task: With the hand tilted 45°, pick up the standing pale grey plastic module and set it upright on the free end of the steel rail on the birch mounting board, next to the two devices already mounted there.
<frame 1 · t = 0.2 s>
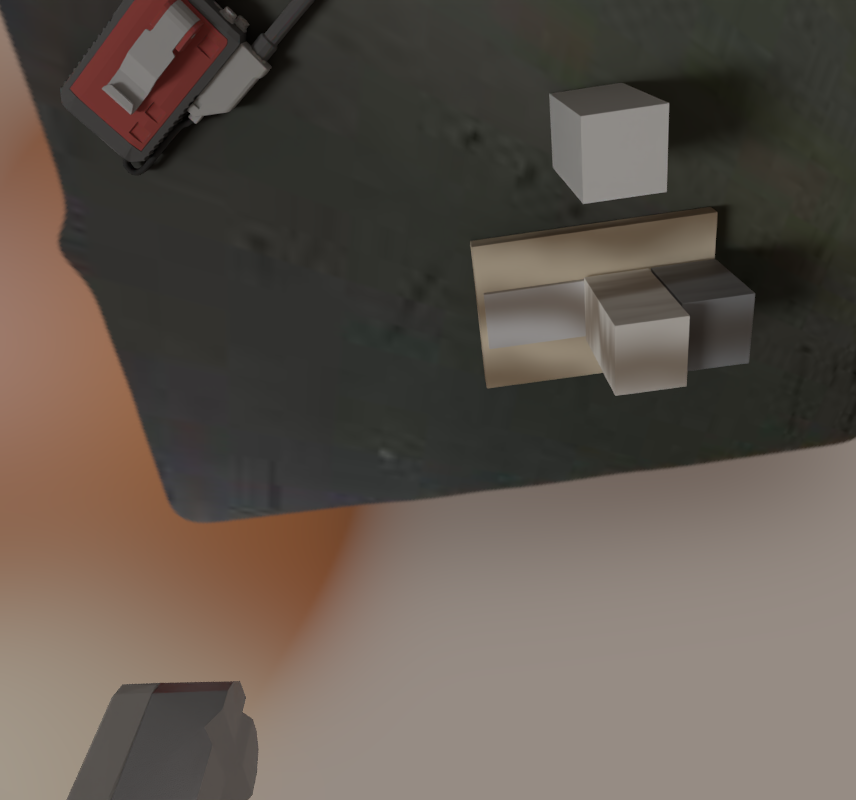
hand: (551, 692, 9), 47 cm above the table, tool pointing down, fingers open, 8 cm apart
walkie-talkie: (202, 37, 48), on the table
rail board: (591, 298, 57), on the table
module: (586, 126, 51), on the table
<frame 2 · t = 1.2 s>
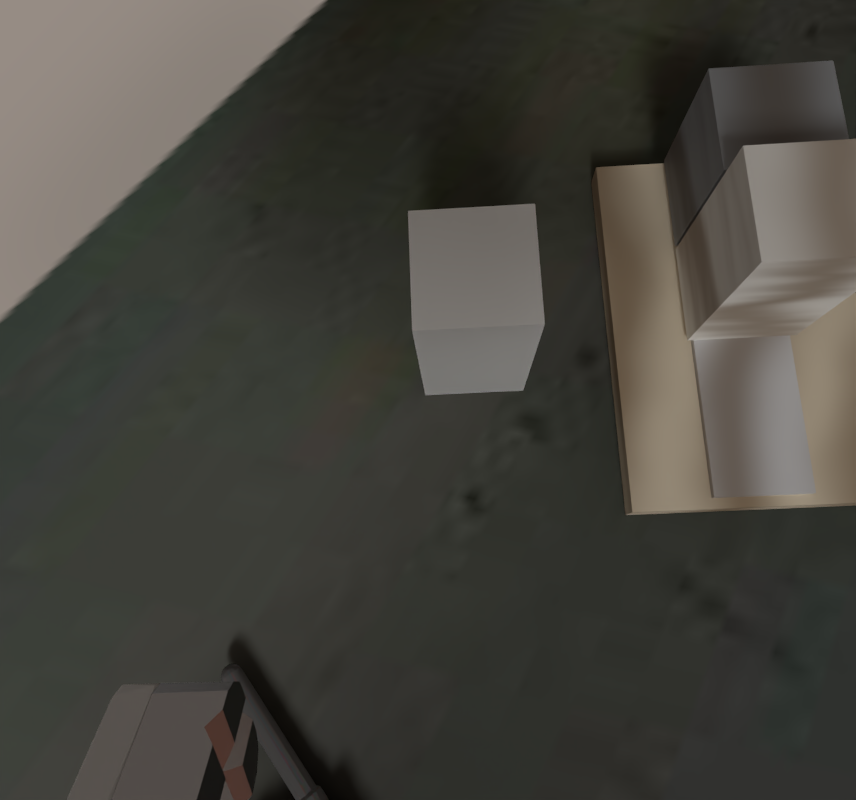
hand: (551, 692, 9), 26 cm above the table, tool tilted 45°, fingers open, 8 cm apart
rail board: (725, 333, 37), on the table
module: (471, 346, 38), on the table
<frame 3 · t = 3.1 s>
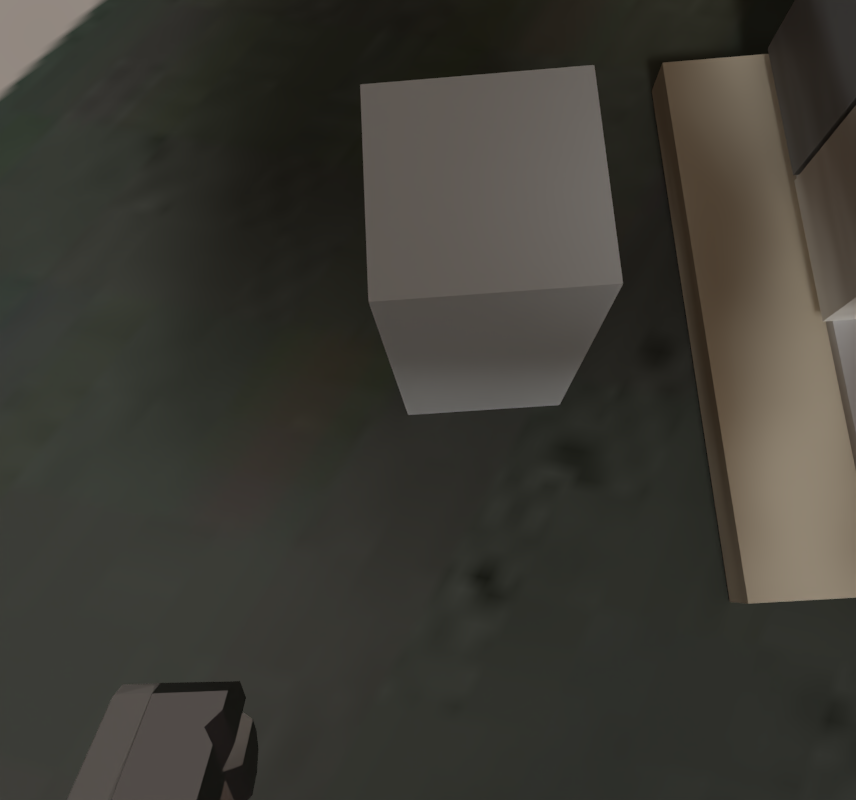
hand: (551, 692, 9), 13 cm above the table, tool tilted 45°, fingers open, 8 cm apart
module: (478, 338, 25), on the table
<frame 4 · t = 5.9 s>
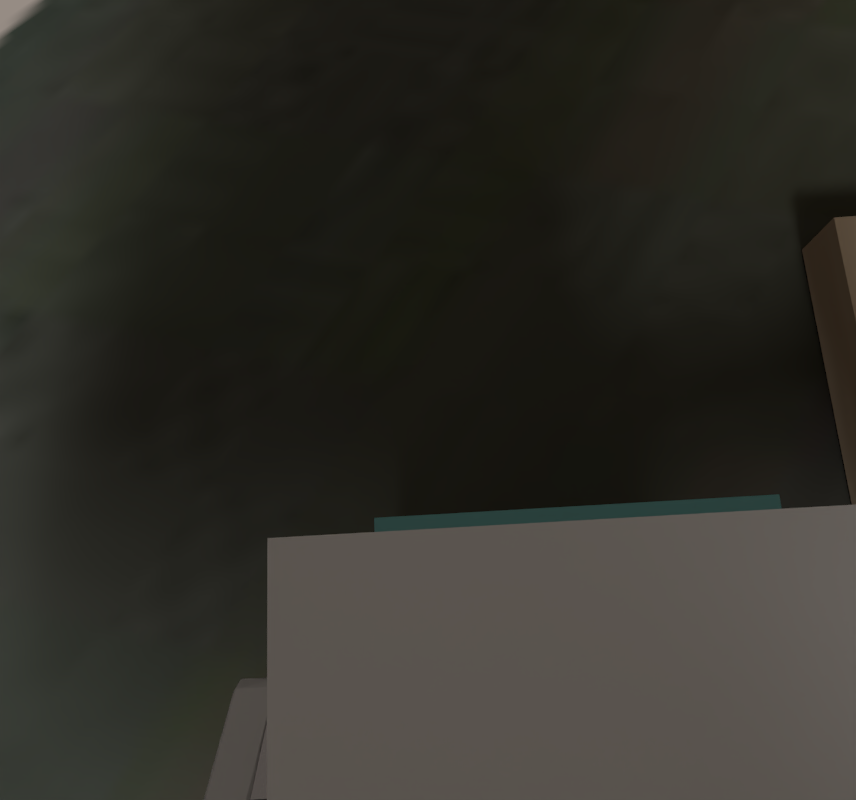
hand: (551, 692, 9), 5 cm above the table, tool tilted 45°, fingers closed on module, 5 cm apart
module: (526, 686, 15), on the table, touching gripper
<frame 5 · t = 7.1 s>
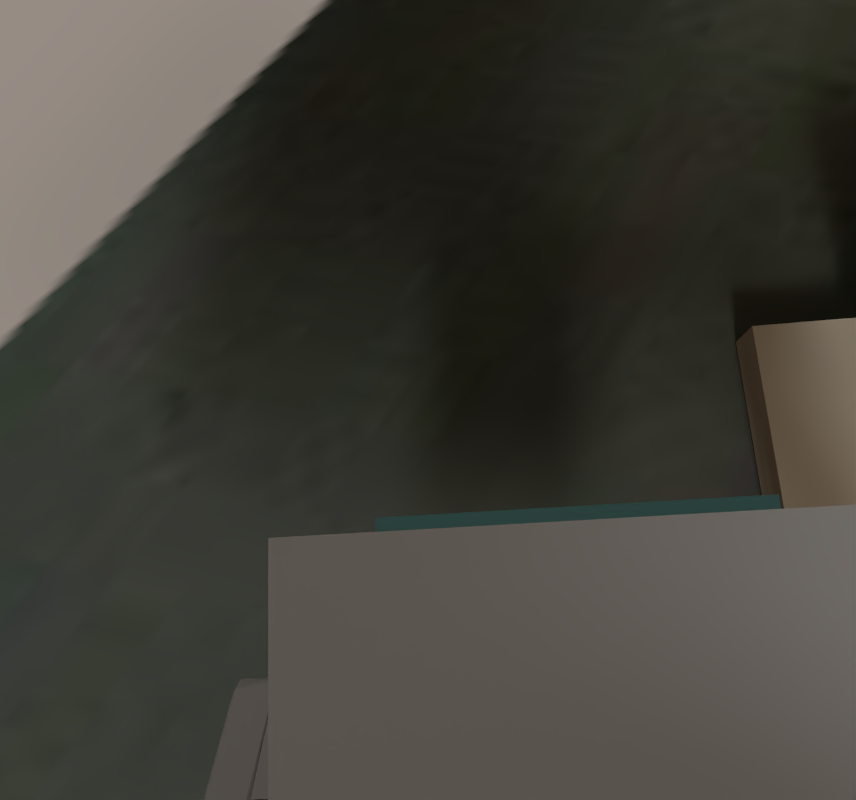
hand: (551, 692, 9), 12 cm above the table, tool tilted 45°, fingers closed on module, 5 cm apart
module: (526, 686, 15), point 7 cm above the table, touching gripper
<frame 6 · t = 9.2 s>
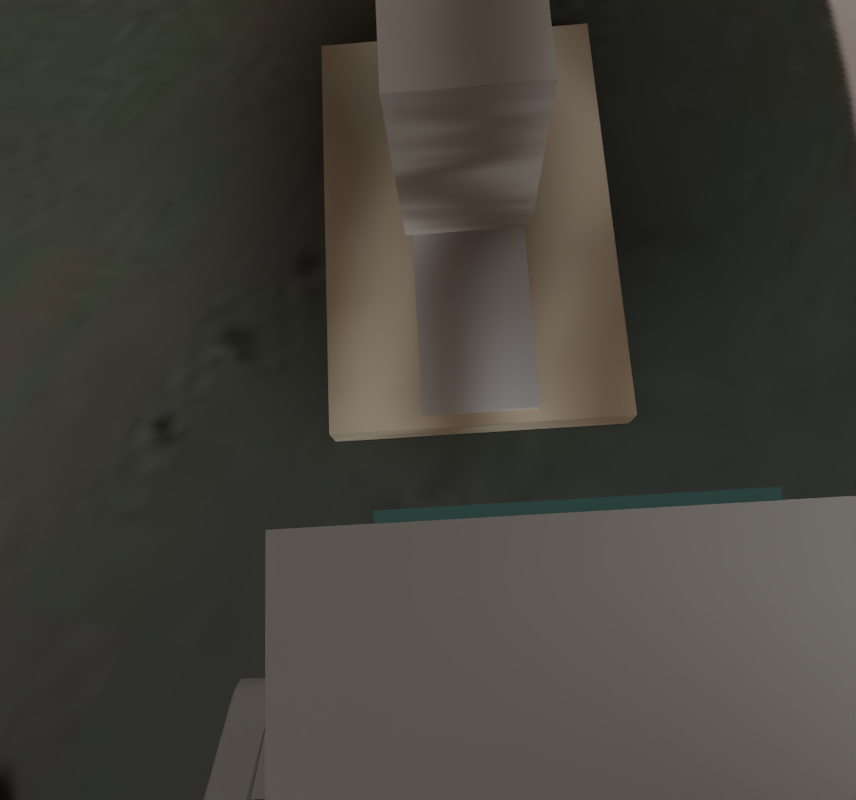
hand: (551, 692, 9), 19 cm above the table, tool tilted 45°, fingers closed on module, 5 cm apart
rail board: (466, 232, 32), on the table
module: (526, 683, 14), point 14 cm above the table, touching gripper
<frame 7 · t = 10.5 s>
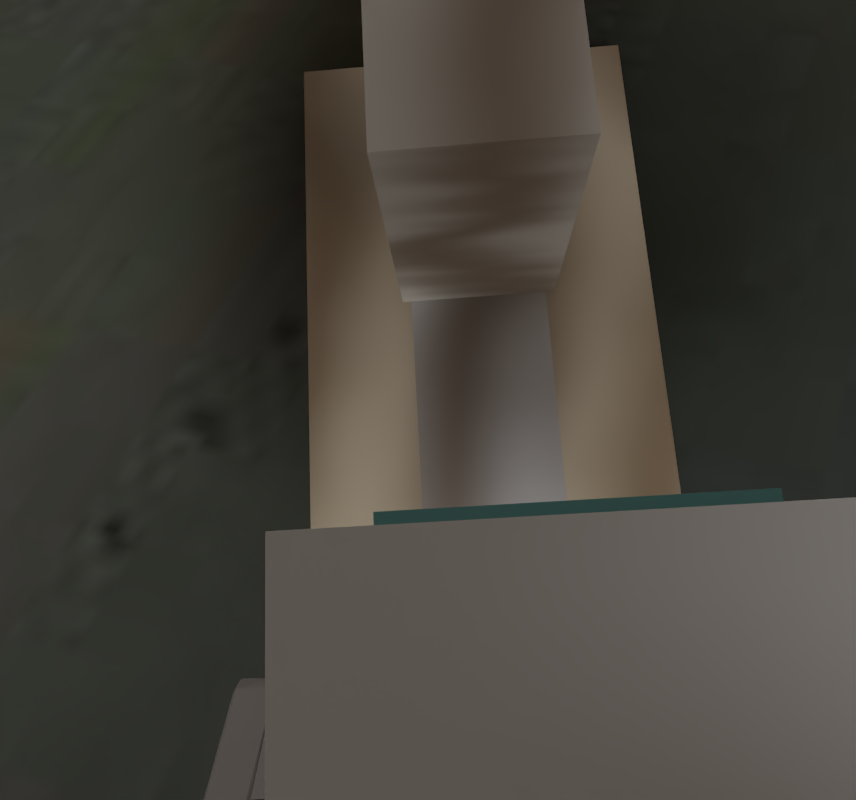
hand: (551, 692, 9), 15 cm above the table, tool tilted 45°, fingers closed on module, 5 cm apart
rail board: (475, 293, 27), on the table
module: (526, 684, 14), point 10 cm above the table, touching gripper
when the fingers open (9 cm above the table, at t = 12.6 s): module drops 2 cm, resting on rail board.
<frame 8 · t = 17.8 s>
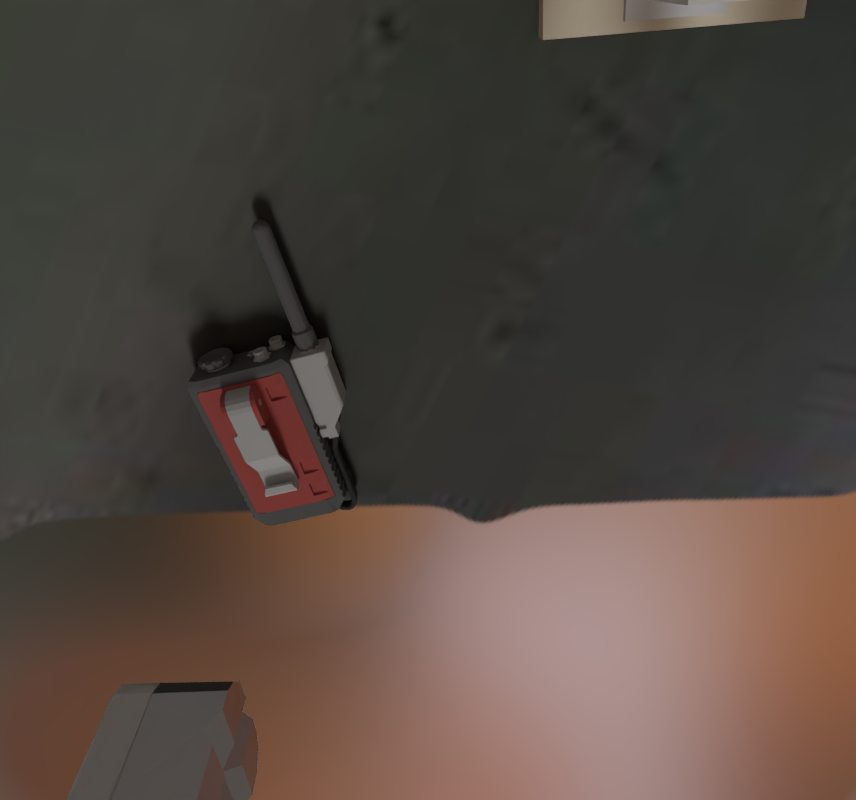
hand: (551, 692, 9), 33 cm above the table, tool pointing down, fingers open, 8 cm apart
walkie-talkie: (274, 377, 46), on the table
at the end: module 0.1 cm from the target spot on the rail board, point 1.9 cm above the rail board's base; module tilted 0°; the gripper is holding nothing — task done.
